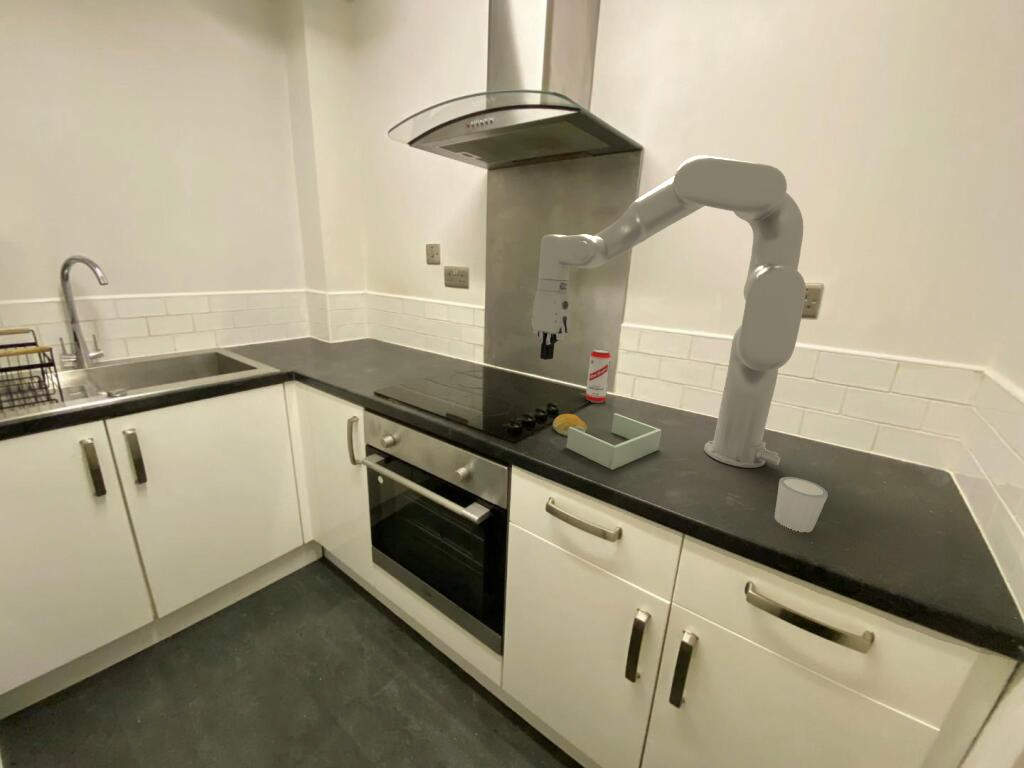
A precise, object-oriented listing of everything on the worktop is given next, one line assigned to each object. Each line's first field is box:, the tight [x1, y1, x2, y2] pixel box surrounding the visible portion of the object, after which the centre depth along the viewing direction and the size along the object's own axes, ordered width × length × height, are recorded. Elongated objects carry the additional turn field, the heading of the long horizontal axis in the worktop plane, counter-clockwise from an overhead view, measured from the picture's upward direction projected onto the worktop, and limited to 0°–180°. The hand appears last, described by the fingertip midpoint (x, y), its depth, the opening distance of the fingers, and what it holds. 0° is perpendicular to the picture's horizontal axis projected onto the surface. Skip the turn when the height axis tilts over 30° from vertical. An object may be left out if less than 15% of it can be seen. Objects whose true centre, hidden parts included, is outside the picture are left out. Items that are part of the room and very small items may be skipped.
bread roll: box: [552, 413, 588, 437], centre depth 106 cm, size 8×9×4 cm
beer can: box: [585, 348, 612, 404], centre depth 129 cm, size 6×6×16 cm
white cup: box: [774, 476, 829, 533], centre depth 71 cm, size 7×7×7 cm
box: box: [566, 412, 662, 471], centre depth 96 cm, size 13×18×5 cm
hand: (546, 358), depth 110 cm, fingers closed
